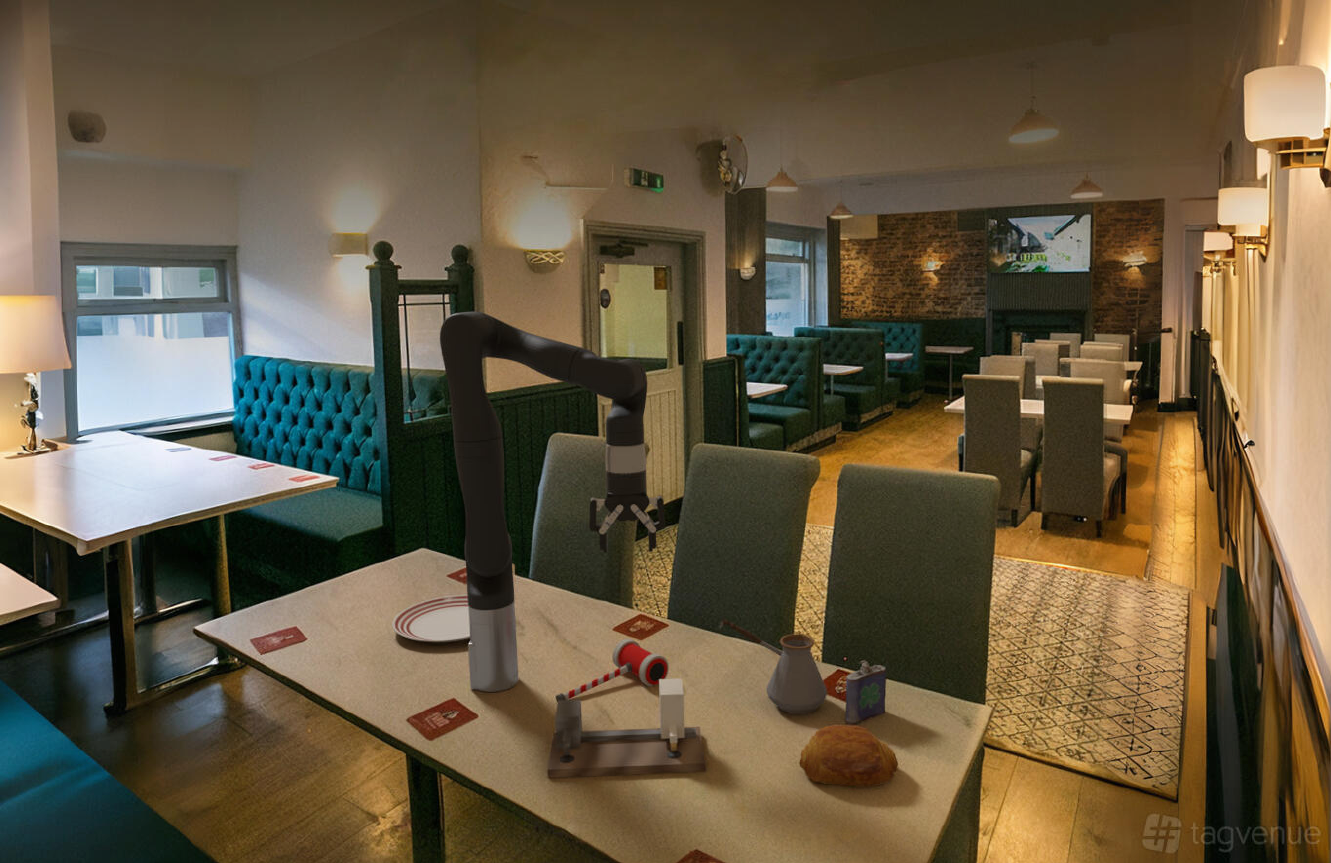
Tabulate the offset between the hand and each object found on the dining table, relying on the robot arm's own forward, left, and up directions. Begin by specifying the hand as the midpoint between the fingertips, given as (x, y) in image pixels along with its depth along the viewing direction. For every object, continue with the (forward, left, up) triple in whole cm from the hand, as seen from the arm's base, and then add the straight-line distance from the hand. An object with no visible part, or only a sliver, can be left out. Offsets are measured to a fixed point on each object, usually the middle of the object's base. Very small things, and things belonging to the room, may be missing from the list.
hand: (628, 551), depth 162 cm
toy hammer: (-3, +7, -31) cm, 32 cm away
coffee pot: (+27, -2, -30) cm, 41 cm away
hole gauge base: (-1, -20, -30) cm, 36 cm away
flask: (+43, -10, -30) cm, 54 cm away
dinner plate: (-43, +41, -31) cm, 67 cm away
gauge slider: (+7, -19, -28) cm, 34 cm away
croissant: (+36, -27, -30) cm, 54 cm away
